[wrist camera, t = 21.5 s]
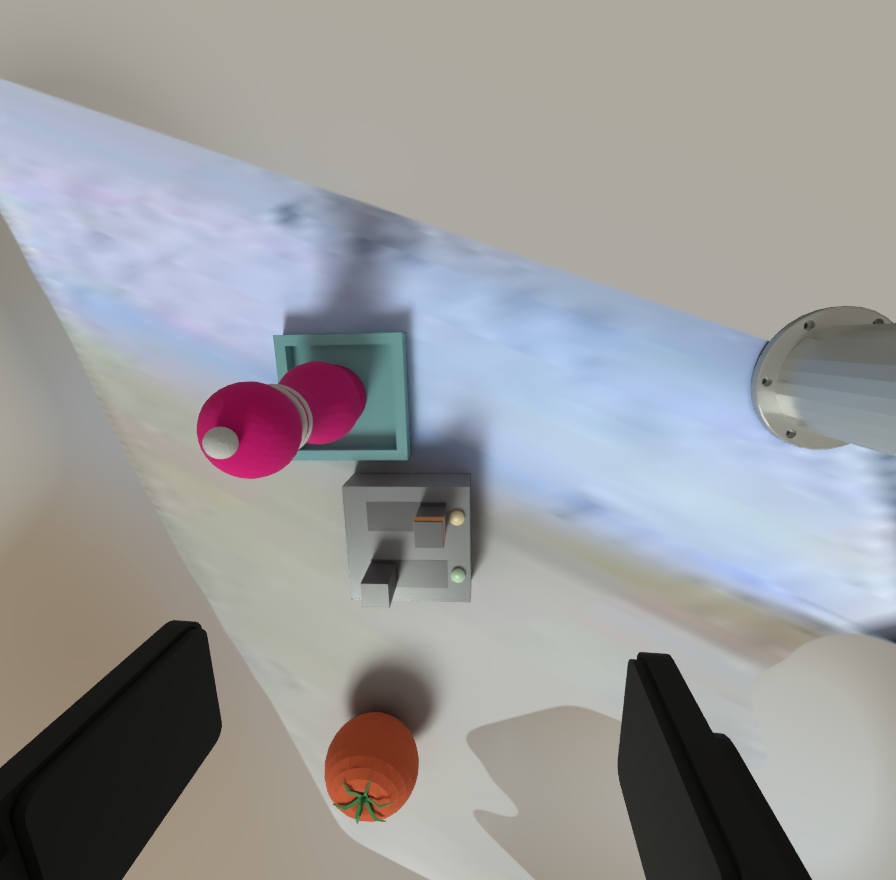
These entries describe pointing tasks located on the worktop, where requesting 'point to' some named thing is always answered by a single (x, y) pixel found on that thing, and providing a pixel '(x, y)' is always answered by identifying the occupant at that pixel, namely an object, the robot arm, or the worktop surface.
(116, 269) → the worktop surface
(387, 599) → the block
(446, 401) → the worktop surface
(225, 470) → the pepper mill
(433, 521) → the tagged breaker
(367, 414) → the tray
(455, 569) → the breaker panel
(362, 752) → the tomato
